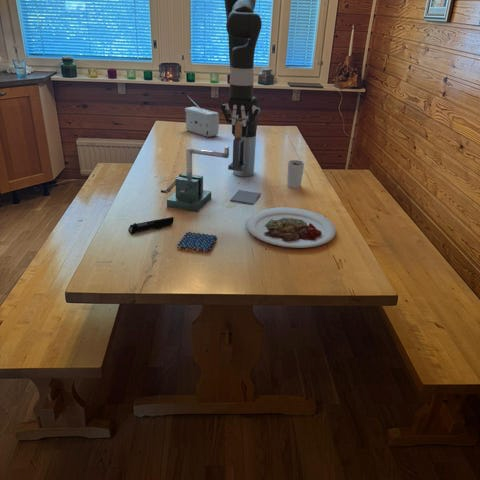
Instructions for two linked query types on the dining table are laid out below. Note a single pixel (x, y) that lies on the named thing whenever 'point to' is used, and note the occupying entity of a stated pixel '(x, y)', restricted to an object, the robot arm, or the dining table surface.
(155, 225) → the electric trimmer
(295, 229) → the plated food
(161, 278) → the dining table surface
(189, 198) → the vise
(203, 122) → the stereo radio cassette player
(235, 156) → the brown and black post
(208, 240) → the woven mat
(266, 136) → the dining table surface
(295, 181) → the grey cup
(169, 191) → the tomahawk
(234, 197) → the slate pad
